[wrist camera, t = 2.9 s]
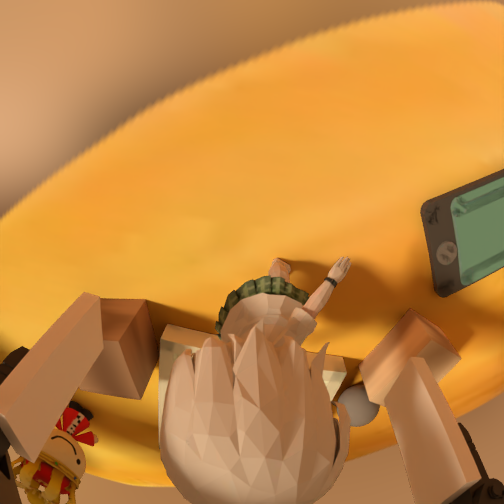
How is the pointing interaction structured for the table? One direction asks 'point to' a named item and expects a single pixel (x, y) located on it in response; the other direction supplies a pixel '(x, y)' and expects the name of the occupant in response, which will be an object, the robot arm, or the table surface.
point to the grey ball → (358, 405)
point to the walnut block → (123, 350)
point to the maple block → (406, 354)
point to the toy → (58, 460)
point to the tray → (183, 338)
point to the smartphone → (465, 233)
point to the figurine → (256, 402)
